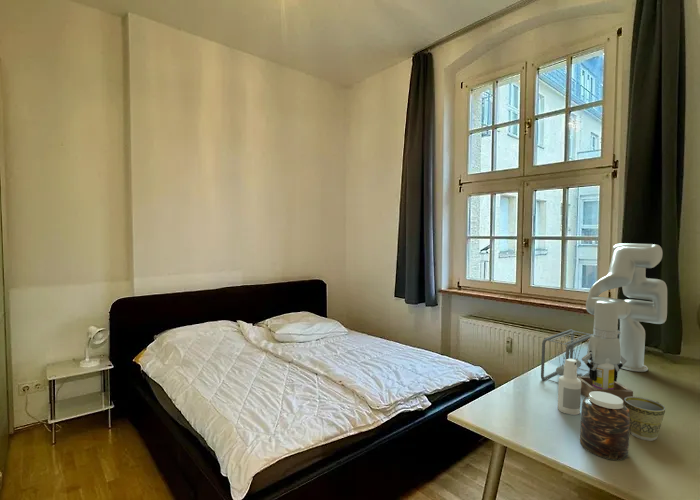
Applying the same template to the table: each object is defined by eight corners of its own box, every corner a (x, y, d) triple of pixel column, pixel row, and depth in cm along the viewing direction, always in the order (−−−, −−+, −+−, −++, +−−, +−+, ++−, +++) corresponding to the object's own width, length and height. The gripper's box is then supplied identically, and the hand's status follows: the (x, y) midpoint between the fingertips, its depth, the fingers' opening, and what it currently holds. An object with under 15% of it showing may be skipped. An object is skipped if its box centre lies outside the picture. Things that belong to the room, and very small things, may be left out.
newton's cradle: (566, 389, 150) (568, 345, 150) (540, 380, 159) (541, 339, 158) (595, 372, 169) (597, 333, 168) (570, 365, 177) (571, 328, 176)
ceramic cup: (651, 447, 110) (652, 413, 110) (615, 430, 119) (616, 399, 119) (676, 437, 115) (678, 405, 115) (640, 422, 124) (642, 392, 124)
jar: (635, 451, 108) (638, 399, 107) (618, 465, 101) (621, 410, 100) (589, 433, 117) (592, 385, 117) (572, 445, 111) (574, 394, 110)
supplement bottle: (611, 387, 146) (613, 354, 145) (615, 394, 140) (616, 360, 139) (591, 384, 148) (592, 352, 148) (593, 390, 142) (595, 357, 142)
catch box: (574, 388, 151) (575, 376, 151) (609, 389, 150) (609, 377, 150) (594, 403, 138) (594, 390, 137) (632, 405, 137) (633, 391, 137)
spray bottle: (572, 417, 127) (574, 364, 126) (553, 408, 133) (555, 358, 133) (584, 412, 131) (586, 361, 130) (565, 404, 137) (567, 355, 136)
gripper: (622, 331, 146) (620, 376, 147) (576, 330, 147) (574, 375, 148) (636, 337, 139) (633, 384, 140) (587, 335, 140) (585, 383, 141)
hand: (603, 379), depth 144 cm, fingers closed on supplement bottle, 6 cm apart
